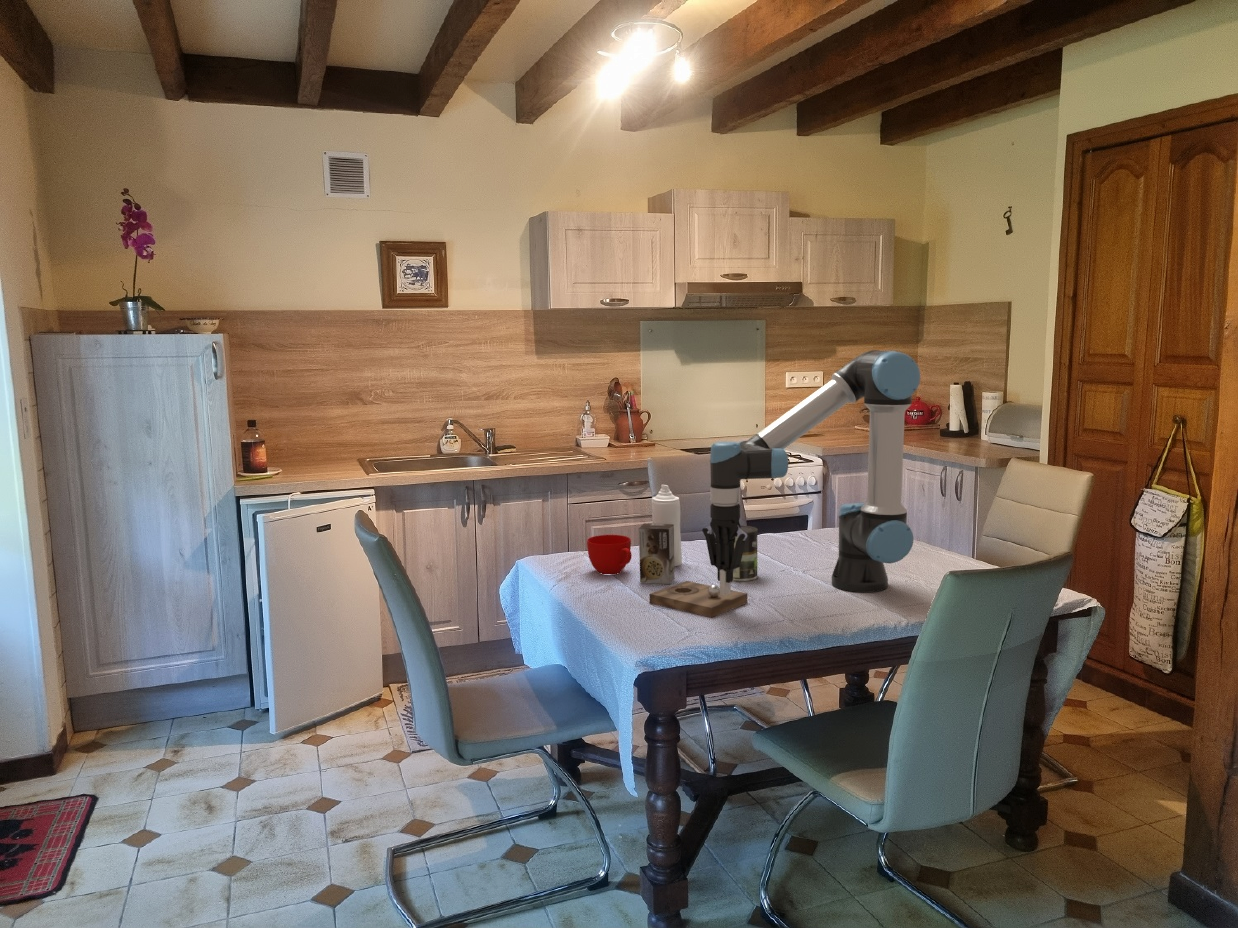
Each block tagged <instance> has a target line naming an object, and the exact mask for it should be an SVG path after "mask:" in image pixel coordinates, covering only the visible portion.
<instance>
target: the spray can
mask: <svg viewBox="0 0 1238 928" xmlns="http://www.w3.org/2000/svg"><path fill="white" fill-rule="evenodd" d="M660 487H661V488H660V489H659V491H658V492H657V493H658V494H656V495H655V496H653V497H651V500H650V501H651V515H652V518H651V519H652V524H674V567H679V566H681V565H682V564H683V556H682V555H683V554H682V539H681V504H680V503H681V502H680V497H678V496H675V495H674V494H673V492H672V491H671V489H670V487H669V485H667V484H661V486H660Z"/></svg>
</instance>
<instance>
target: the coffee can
mask: <svg viewBox="0 0 1238 928" xmlns="http://www.w3.org/2000/svg"><path fill="white" fill-rule="evenodd" d="M741 530H743V531H744V532H745V533H746V532H747V533H749V537H748V538H747V540H746V541H745V546H744V550H743V555H742V560H741V564H740V567H739V568H736V569H734V570H733V581H732V582H748V581H749V582H750V581H754V580H757V578H758V577H759V576H758V532H759V529H758V528H757V527H756V526H750V525H741ZM737 535H738V534H737ZM737 535H736V537H735V543H734V549H735V545H736V541H737V539H738V538H737Z"/></svg>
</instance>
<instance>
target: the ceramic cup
mask: <svg viewBox="0 0 1238 928" xmlns="http://www.w3.org/2000/svg"><path fill="white" fill-rule="evenodd" d="M631 544H632V538H631V537H629V536H627V535H626V536H625V535H621V534H601V535H600V534H599V535H594V536H591V537H589V538H587V540H586V546H587V549H586V550H587V553H588V554H587V555H588V558H589V562H590V564H591V565H592V567H593V568H594V570H595V571H596V572H597V573H598V572H599V573H602V574H616V575H618V574H617V573H619V574H621V573H622V571H623V570H624V569H625V568H626V565H629V563H630V562H631V560H632V556H633V555H632V551H631V546H632V545H631ZM620 572H621V573H620ZM599 573H598V574H599ZM602 574H601V575H602Z"/></svg>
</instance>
